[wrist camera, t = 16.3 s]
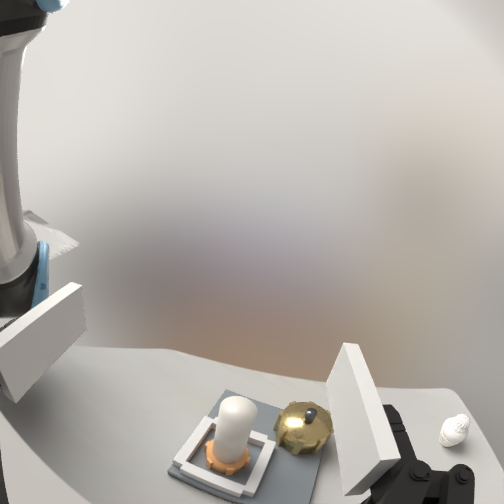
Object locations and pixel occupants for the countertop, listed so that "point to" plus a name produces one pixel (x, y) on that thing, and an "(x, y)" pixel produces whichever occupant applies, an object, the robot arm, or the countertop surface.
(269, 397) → the countertop surface
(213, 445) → the white cylinder orange base
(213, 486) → the carrier plate
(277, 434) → the sun gear
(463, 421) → the muffin
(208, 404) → the countertop surface
